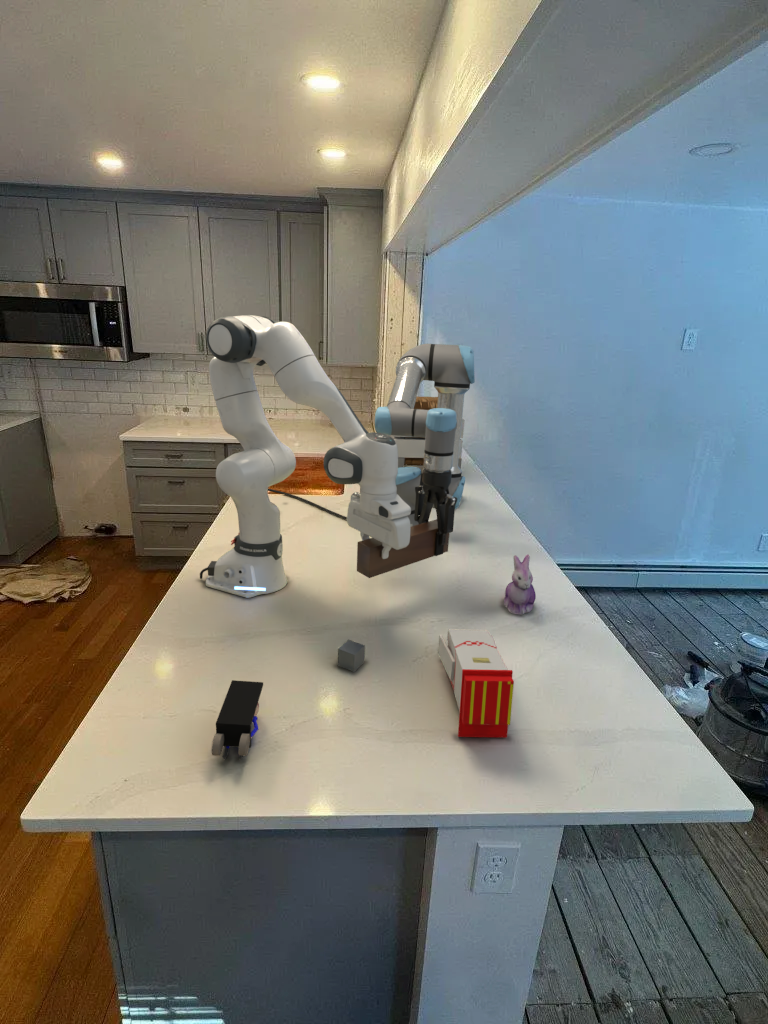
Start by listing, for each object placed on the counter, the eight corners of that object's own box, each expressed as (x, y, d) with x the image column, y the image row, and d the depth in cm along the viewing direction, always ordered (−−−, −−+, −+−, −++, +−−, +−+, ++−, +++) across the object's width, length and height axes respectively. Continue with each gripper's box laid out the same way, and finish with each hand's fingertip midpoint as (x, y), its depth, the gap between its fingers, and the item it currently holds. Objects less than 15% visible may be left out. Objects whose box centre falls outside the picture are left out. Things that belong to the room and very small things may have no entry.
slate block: (337, 665, 125) (337, 648, 124) (348, 656, 129) (348, 639, 127) (354, 672, 123) (354, 654, 122) (364, 662, 127) (365, 645, 125)
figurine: (518, 619, 147) (525, 567, 142) (493, 601, 156) (499, 551, 151) (545, 612, 151) (553, 561, 146) (520, 595, 160) (527, 546, 155)
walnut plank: (356, 571, 142) (357, 541, 140) (435, 545, 160) (437, 519, 157) (369, 578, 139) (370, 548, 136) (447, 551, 156) (450, 524, 154)
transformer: (382, 463, 289) (386, 382, 275) (445, 464, 293) (451, 384, 279) (390, 482, 257) (394, 392, 243) (460, 483, 261) (468, 394, 247)
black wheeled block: (251, 773, 97) (266, 707, 110) (248, 742, 94) (264, 678, 107) (211, 773, 97) (231, 707, 110) (207, 741, 93) (228, 677, 107)
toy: (488, 613, 130) (523, 677, 101) (484, 667, 133) (517, 744, 104) (435, 612, 130) (455, 676, 101) (432, 666, 133) (451, 743, 103)
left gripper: (341, 491, 142) (340, 542, 147) (395, 515, 128) (392, 571, 132) (361, 487, 146) (359, 537, 151) (416, 510, 132) (412, 564, 136)
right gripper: (403, 463, 151) (399, 543, 159) (453, 479, 139) (445, 565, 147) (423, 459, 156) (418, 537, 164) (473, 475, 143) (465, 558, 151)
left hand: (375, 553), depth 141 cm, fingers closed on walnut plank, 5 cm apart
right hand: (431, 550), depth 155 cm, fingers closed on walnut plank, 5 cm apart
